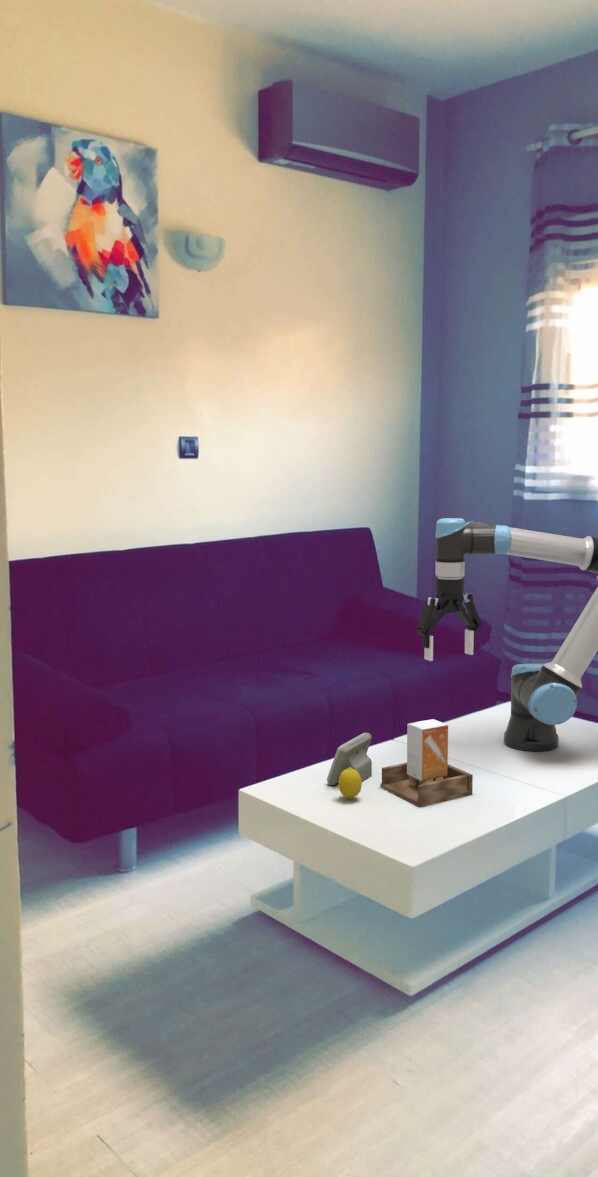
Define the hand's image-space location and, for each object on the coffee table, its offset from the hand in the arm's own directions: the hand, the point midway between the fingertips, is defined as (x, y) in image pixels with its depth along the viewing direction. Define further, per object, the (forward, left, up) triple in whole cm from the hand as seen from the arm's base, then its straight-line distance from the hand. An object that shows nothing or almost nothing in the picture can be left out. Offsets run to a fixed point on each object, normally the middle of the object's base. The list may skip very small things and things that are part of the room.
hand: (449, 657), depth 256 cm
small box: (+19, +15, -25) cm, 35 cm away
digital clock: (+30, -3, -29) cm, 42 cm away
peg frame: (+19, +15, -29) cm, 38 cm away
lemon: (+38, +10, -29) cm, 49 cm away
